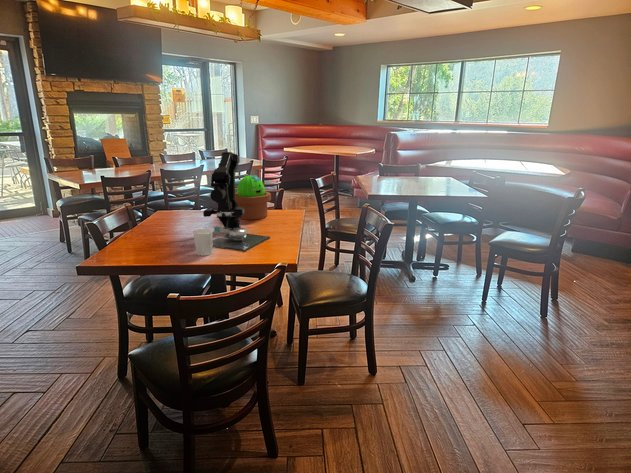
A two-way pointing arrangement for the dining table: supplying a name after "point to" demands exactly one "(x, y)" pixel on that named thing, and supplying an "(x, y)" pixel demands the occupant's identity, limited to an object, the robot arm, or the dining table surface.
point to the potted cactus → (252, 198)
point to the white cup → (203, 241)
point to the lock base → (239, 242)
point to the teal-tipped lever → (232, 232)
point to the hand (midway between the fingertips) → (225, 229)
